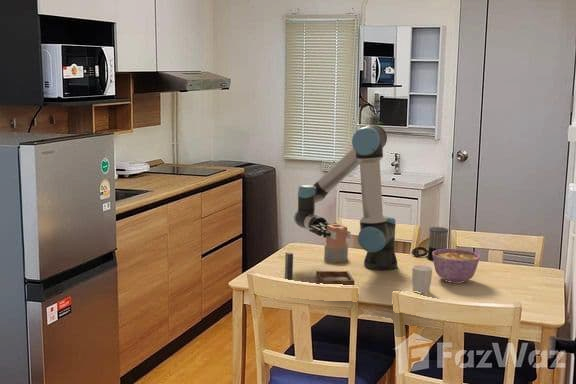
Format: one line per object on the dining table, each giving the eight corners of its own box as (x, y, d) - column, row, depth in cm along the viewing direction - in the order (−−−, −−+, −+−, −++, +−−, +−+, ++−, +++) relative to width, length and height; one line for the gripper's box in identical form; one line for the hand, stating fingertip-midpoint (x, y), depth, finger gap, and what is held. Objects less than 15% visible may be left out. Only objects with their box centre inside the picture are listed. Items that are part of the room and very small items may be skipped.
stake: (290, 277, 308) (290, 252, 306) (292, 278, 306) (293, 253, 304) (284, 277, 307) (285, 252, 305) (287, 279, 305) (288, 254, 303)
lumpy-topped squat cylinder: (322, 260, 336) (322, 242, 334) (329, 253, 348) (329, 236, 346) (343, 262, 333) (344, 244, 331) (350, 256, 345) (350, 238, 343)
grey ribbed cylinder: (448, 262, 338) (450, 231, 335) (414, 261, 338) (416, 230, 336) (442, 254, 352) (444, 224, 349) (410, 253, 352) (412, 223, 350)
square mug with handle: (338, 244, 305) (339, 223, 303) (347, 248, 298) (348, 227, 296) (326, 245, 302) (326, 225, 300) (335, 250, 295) (335, 228, 294)
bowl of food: (447, 271, 323) (449, 246, 321) (487, 281, 309) (489, 255, 307) (421, 279, 309) (422, 253, 307) (461, 290, 295) (463, 263, 293)
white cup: (430, 295, 287) (432, 271, 286) (410, 293, 289) (412, 269, 287) (430, 289, 295) (432, 266, 293) (411, 288, 297) (412, 264, 295)
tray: (348, 276, 311) (348, 271, 310) (354, 286, 297) (354, 280, 297) (315, 276, 309) (316, 271, 309) (320, 286, 296) (320, 280, 295)
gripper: (334, 230, 320) (362, 242, 300) (296, 234, 312) (321, 246, 292) (335, 214, 319) (362, 225, 299) (296, 217, 311) (322, 228, 290)
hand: (342, 235), depth 295 cm, fingers closed on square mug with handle, 6 cm apart
